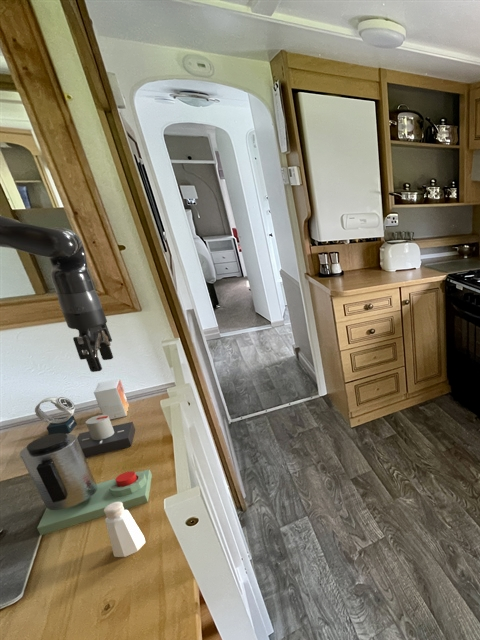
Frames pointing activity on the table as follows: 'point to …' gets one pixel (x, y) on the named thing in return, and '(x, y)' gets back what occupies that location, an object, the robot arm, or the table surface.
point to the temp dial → (100, 427)
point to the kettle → (59, 470)
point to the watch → (61, 423)
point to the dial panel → (107, 440)
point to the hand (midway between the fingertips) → (102, 364)
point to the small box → (111, 399)
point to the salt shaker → (122, 530)
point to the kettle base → (98, 503)
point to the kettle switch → (126, 479)
